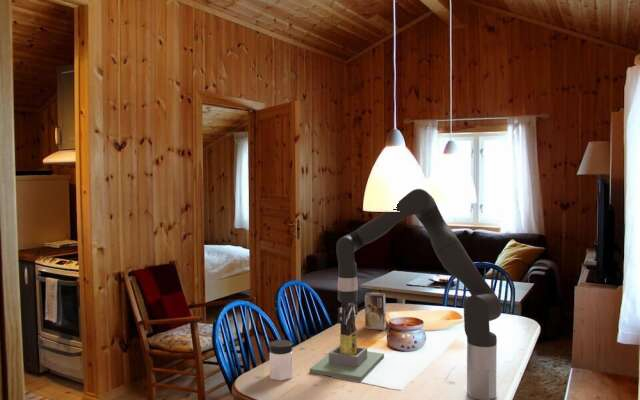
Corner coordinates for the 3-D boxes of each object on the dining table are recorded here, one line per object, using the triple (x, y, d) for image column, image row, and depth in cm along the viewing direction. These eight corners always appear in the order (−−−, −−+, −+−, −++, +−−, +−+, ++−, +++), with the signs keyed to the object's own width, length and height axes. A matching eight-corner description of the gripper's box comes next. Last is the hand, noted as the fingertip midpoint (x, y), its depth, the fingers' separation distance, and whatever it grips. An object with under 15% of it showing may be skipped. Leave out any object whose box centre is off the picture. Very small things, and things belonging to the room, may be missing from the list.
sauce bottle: (355, 364, 197) (355, 311, 196) (338, 363, 198) (338, 310, 198) (357, 358, 204) (357, 307, 203) (341, 357, 205) (341, 306, 204)
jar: (264, 377, 190) (263, 344, 189) (277, 370, 197) (276, 338, 196) (285, 382, 185) (284, 348, 185) (297, 374, 192) (297, 342, 192)
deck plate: (361, 381, 186) (361, 365, 185) (309, 372, 194) (309, 357, 194) (384, 357, 209) (383, 343, 209) (337, 350, 217) (337, 337, 217)
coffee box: (386, 326, 251) (386, 292, 250) (384, 330, 245) (384, 295, 244) (367, 325, 254) (367, 291, 253) (364, 328, 248) (364, 294, 247)
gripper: (350, 293, 192) (350, 337, 193) (363, 285, 205) (363, 326, 206) (331, 291, 195) (331, 334, 196) (345, 284, 208) (345, 324, 209)
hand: (348, 330), depth 201 cm, fingers open, 8 cm apart
